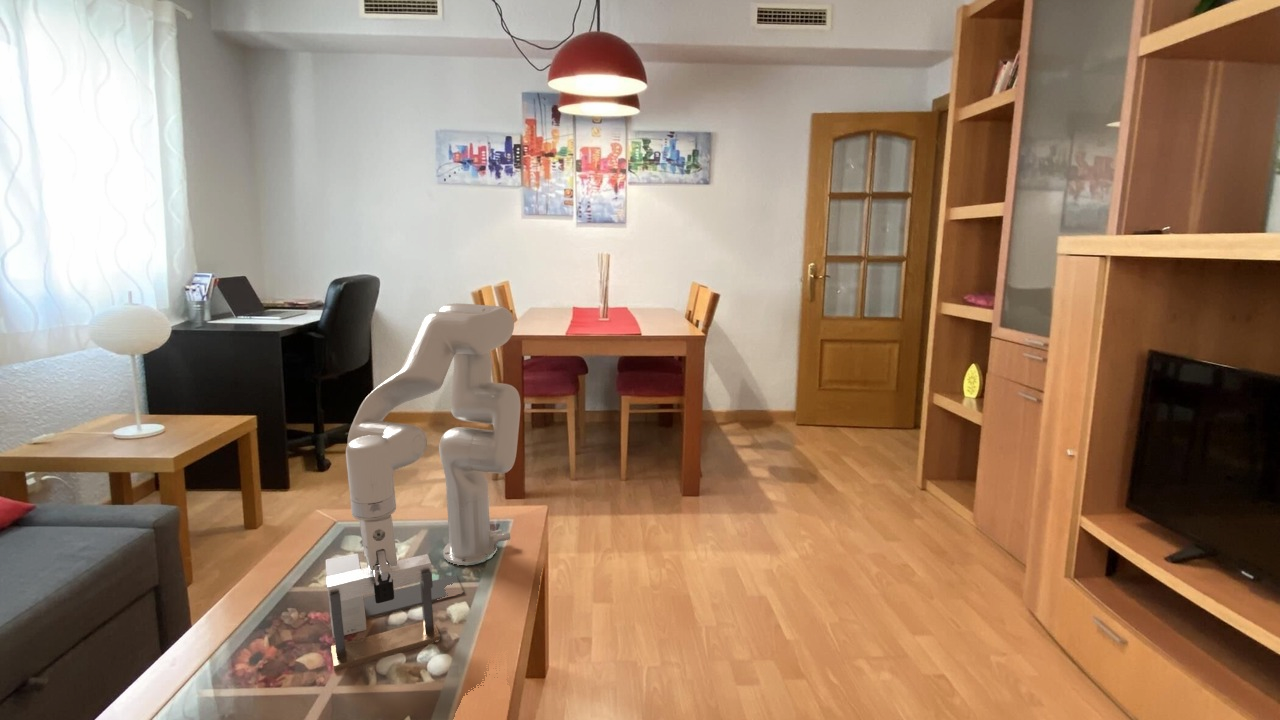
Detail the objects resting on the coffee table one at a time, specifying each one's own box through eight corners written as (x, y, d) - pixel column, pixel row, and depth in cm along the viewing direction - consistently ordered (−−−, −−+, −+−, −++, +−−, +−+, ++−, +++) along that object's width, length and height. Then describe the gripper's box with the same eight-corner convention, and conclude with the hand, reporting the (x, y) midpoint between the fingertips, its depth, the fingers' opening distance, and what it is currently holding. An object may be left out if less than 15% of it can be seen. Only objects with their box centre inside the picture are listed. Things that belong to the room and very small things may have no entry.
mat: (456, 577, 156) (456, 574, 155) (464, 593, 150) (464, 591, 149) (361, 600, 147) (361, 598, 146) (365, 619, 141) (365, 616, 140)
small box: (367, 630, 137) (361, 572, 134) (332, 639, 135) (326, 580, 131) (364, 607, 144) (358, 552, 141) (330, 615, 142) (324, 559, 138)
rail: (428, 569, 135) (427, 553, 134) (432, 579, 132) (430, 562, 131) (328, 593, 127) (326, 576, 126) (329, 604, 124) (327, 586, 123)
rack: (433, 623, 140) (429, 556, 136) (440, 641, 134) (435, 572, 130) (331, 651, 131) (323, 581, 127) (334, 671, 126) (325, 599, 122)
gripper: (403, 520, 119) (410, 606, 124) (388, 481, 134) (394, 559, 138) (356, 529, 116) (365, 618, 120) (346, 488, 130) (354, 568, 135)
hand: (381, 586), depth 129 cm, fingers open, 9 cm apart
